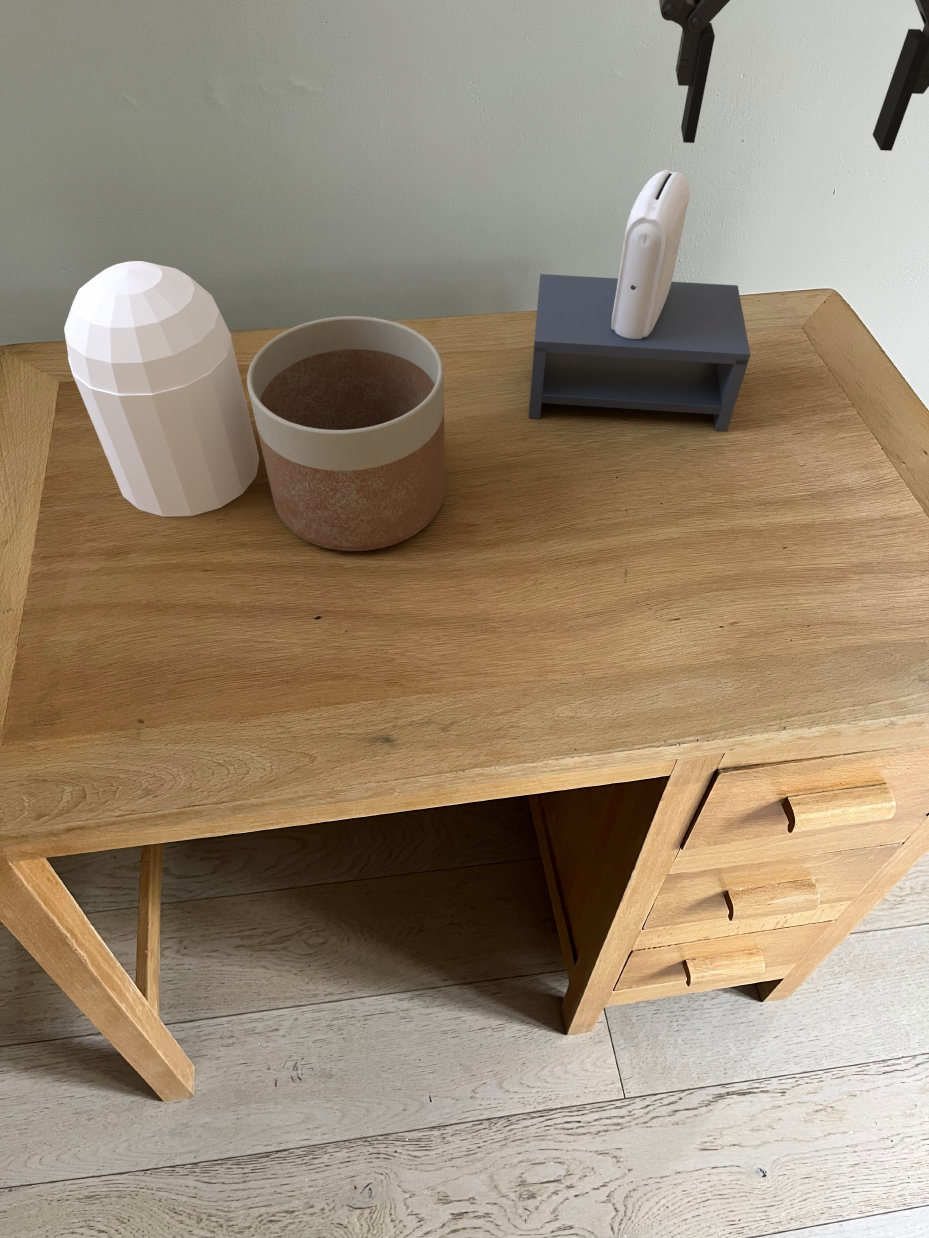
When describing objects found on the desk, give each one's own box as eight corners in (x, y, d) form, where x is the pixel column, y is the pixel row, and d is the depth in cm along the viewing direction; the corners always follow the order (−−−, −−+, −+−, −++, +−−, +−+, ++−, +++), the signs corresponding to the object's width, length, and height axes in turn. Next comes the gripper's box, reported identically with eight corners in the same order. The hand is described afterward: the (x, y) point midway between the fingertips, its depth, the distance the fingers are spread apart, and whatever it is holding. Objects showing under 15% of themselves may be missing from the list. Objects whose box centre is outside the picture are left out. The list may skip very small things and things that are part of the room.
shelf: (717, 361, 94) (737, 285, 87) (726, 431, 86) (750, 354, 79) (534, 350, 95) (540, 273, 88) (528, 418, 87) (534, 340, 80)
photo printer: (649, 345, 80) (675, 213, 70) (604, 335, 81) (624, 204, 71) (673, 290, 86) (700, 161, 76) (631, 281, 87) (653, 153, 77)
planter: (266, 454, 84) (237, 329, 73) (424, 429, 86) (419, 304, 75) (286, 571, 74) (257, 447, 63) (463, 539, 77) (464, 414, 66)
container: (118, 434, 85) (43, 239, 70) (254, 415, 87) (210, 221, 72) (116, 527, 77) (30, 330, 62) (266, 504, 79) (219, 308, 64)
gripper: (1121, -300, 46) (950, 124, 63) (656, -304, 48) (607, 112, 64) (1182, -288, 42) (979, 169, 58) (663, -292, 43) (608, 154, 59)
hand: (783, 139), depth 61 cm, fingers open, 13 cm apart
